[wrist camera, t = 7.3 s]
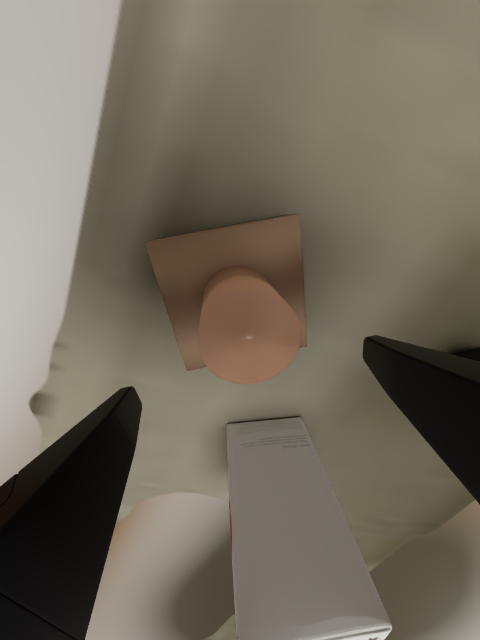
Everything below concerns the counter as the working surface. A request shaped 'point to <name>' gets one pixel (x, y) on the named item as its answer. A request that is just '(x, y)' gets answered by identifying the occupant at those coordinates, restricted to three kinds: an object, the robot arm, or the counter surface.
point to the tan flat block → (217, 254)
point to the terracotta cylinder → (246, 327)
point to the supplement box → (293, 542)
